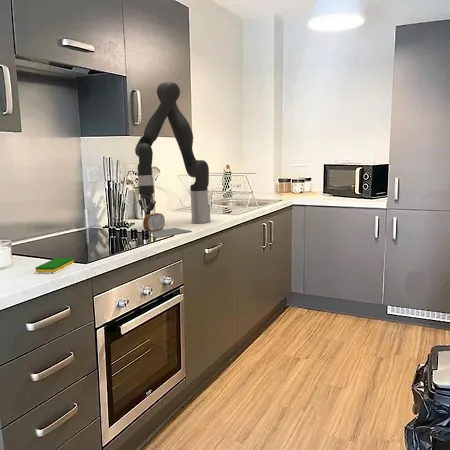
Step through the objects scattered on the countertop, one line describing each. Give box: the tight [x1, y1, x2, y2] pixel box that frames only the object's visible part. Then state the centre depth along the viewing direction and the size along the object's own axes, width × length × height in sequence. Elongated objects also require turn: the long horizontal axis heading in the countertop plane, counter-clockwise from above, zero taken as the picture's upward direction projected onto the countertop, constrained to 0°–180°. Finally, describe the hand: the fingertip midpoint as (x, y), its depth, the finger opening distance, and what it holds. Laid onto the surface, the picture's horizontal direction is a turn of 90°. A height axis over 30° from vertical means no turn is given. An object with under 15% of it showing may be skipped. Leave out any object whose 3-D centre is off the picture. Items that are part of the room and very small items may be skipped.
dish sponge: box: [35, 257, 75, 273], centre depth 163 cm, size 7×14×2 cm, turn 170°
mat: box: [150, 227, 192, 239], centre depth 224 cm, size 20×14×1 cm
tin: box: [142, 212, 166, 232], centre depth 230 cm, size 15×3×8 cm, turn 152°
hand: (148, 219), depth 234 cm, fingers closed
